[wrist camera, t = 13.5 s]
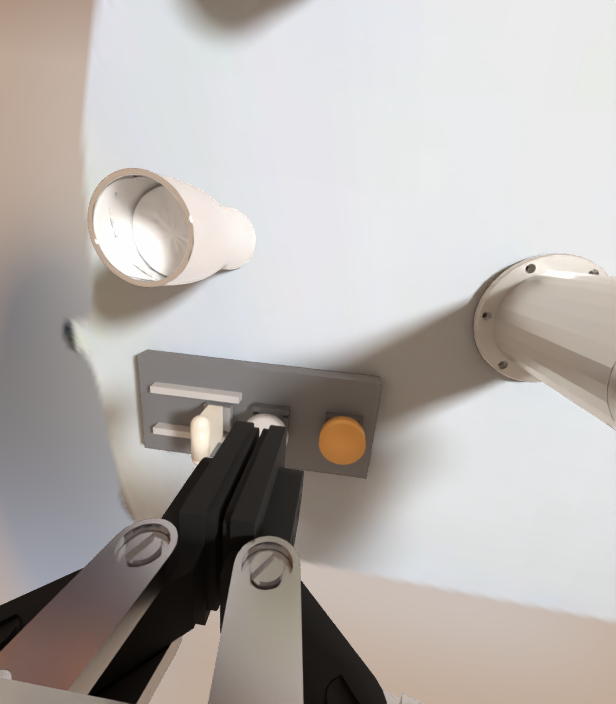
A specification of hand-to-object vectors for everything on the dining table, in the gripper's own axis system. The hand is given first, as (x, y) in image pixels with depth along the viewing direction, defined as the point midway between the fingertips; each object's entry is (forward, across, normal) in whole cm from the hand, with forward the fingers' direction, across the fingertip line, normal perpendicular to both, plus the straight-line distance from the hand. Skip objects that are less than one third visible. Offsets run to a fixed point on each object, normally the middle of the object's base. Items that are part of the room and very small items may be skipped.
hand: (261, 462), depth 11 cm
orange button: (+23, -4, +12) cm, 26 cm away
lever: (+23, +10, +12) cm, 28 cm away
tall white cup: (+25, +10, -7) cm, 28 cm away
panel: (+25, +6, +12) cm, 28 cm away
